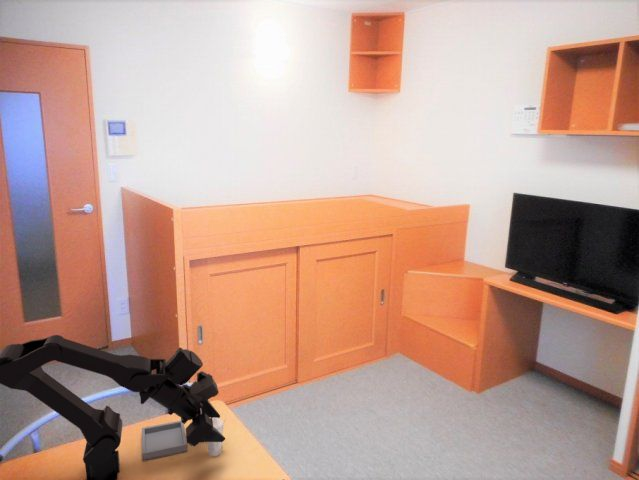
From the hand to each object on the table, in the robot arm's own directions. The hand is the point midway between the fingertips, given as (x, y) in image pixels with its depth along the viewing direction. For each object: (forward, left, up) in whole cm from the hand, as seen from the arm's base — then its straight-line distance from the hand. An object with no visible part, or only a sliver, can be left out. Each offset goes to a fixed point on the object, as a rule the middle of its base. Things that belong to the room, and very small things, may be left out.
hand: (221, 428), depth 115 cm
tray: (-13, +8, -7) cm, 17 cm away
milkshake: (-1, 0, -7) cm, 7 cm away
